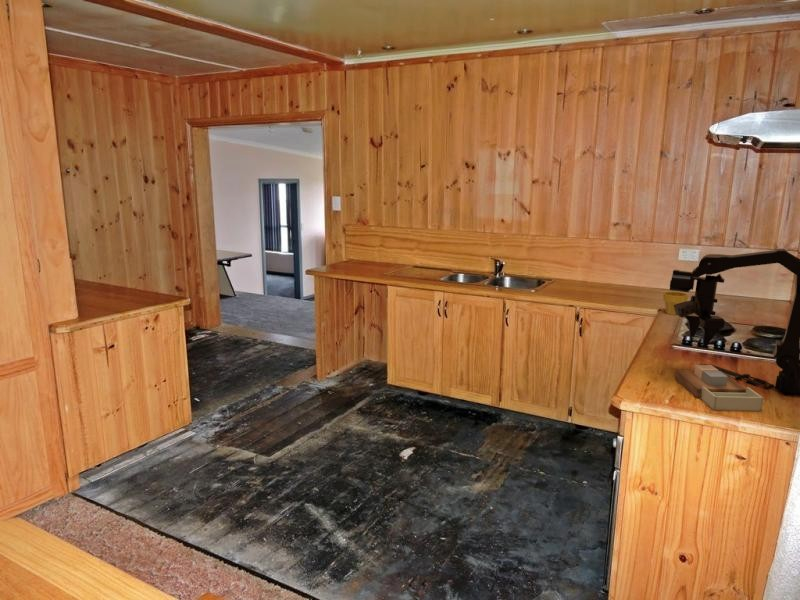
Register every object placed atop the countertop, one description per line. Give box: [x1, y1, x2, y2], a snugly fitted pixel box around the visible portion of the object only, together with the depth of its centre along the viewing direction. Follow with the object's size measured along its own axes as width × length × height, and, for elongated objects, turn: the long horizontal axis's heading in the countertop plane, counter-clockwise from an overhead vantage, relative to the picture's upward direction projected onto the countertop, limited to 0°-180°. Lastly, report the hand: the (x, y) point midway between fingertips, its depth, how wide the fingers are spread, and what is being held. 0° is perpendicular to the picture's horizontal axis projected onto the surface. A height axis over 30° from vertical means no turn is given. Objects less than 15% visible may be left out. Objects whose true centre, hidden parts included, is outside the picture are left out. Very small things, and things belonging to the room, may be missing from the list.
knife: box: [698, 362, 775, 390], centre depth 183 cm, size 25×6×1 cm, turn 18°
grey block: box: [702, 371, 729, 386], centre depth 168 cm, size 5×5×3 cm
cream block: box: [693, 364, 719, 379], centre depth 173 cm, size 5×5×3 cm
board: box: [674, 369, 746, 399], centre depth 171 cm, size 14×16×3 cm
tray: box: [700, 386, 764, 412], centre depth 159 cm, size 13×8×4 cm, turn 85°
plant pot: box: [662, 291, 689, 316], centre depth 262 cm, size 10×10×10 cm
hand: (698, 341), depth 179 cm, fingers open, 9 cm apart
